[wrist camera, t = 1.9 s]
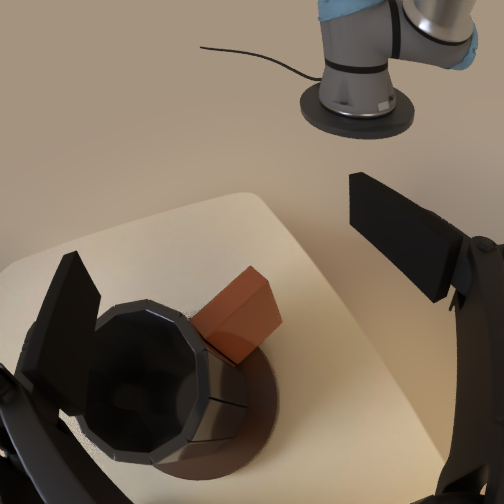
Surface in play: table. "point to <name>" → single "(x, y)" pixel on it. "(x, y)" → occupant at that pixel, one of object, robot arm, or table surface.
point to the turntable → (250, 434)
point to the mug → (174, 374)
